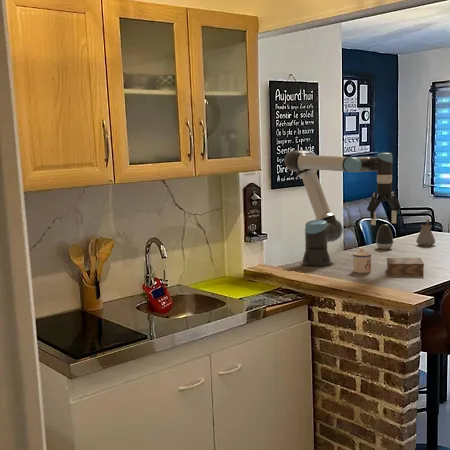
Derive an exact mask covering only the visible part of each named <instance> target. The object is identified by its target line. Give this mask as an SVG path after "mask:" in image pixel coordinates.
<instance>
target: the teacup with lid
mask: <svg viewBox="0 0 450 450" xmlns="http://www.w3.org/2000/svg"><path fill="white" fill-rule="evenodd" d="M352 258H353V259H352V261H353V262H352V270H353V272H354V273H356V272H357V273H358V274H368V273H371V272H372V253H371V252H368V251H367V250H365V248H360V249H359V250H357V251H356V252H353V254H352Z"/></svg>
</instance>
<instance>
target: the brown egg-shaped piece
mask: <svg viewBox="0 0 450 450" xmlns="http://www.w3.org/2000/svg"><path fill="white" fill-rule="evenodd" d="M375 244H376V247H377V248H379V249H381V250H389V249H391V248H392V246H393V244H394V237H393V233H392V230H391V228H390V226H389V224H385V223H384V224H381V225H380V226H379V227H378V230H377V235H376V239H375Z"/></svg>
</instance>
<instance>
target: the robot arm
mask: <svg viewBox="0 0 450 450" xmlns="http://www.w3.org/2000/svg"><path fill="white" fill-rule="evenodd" d="M393 163H394V160H393V154H392V152H378V153H377V155H376V156H357V157H356V156H339V155H337V156H336V155H335V156H334V155H333V156H332V155H319V154H318V155H317V154H316V153H315V152H314V151H312V150H308V149H303V150H296V149H295V150H291V151H289V152H287V154H286V155H285V156H284V166H285V167H286V169H288V170H289V171H291V172H296V174H297V176H298V178H301V179H302V182H303V185H304V188H305V190H306V193H307V196H308V199H309V203H310V205H311V208H312V210H313V213H314V216H315V220H309V221H307V222H306V223H305V226H304V232H305V233H304V235H305V236H304V238H305V241H304V242H305V244H304V246H305V250H304V253H303V257H302V260H301V261H302V265H303V266H306V265H308V267H326V266H330V265H331V264H332V262H331V257H330V255H329V254H330V253H329V252H328V243H331V242H335V241H337V240H338V239H340V238H341V236H342V235H343V231H344V228H343V227H344V226H343V224H342V222H341V221H339V220H338V219H336V215H335V214H334V213H332V212H331V209H330V207H329V205H328V202H327V197H326V195H325V193H324V190H323V188H322V185H321V181H320V179H319V177H318V174H317V172H318V170H319V171H332V172H333V171H334V172H335V171H336V172H347V173H352V174H353V173H354V174H355V173H362V172H364V173H365V172H376V183H377V184H376V191H377V192H372V193H371V199H370V201H369V203H368V206H367V208H366V211H367V212H369V213H370V214H369V215H370V217H369V218H370V225H371V226H376V225H377V223H376V221H377V218H376V217H377V212H375V211H376V210H377V209H378V208H379V206H380V204H381V203H382V202H387V203H388V204H389V206H390V207H391V209H392V210H391V224H397V217H398V212H399V210H401V206H400V202H399V200H398V197H397V192H396V191H392V190H393V183H392V182H393Z"/></svg>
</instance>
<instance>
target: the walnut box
mask: <svg viewBox="0 0 450 450" xmlns="http://www.w3.org/2000/svg"><path fill="white" fill-rule="evenodd" d="M424 266H425V263H424V262H423V260H422V258H421V257H386V269H387V273H388V274H389V275H388V276H394V275H411V276H412V277H413V276H414V277H424V272H425V271H424V270H425V269H424V268H425V267H424ZM411 276H410V277H411Z"/></svg>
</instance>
